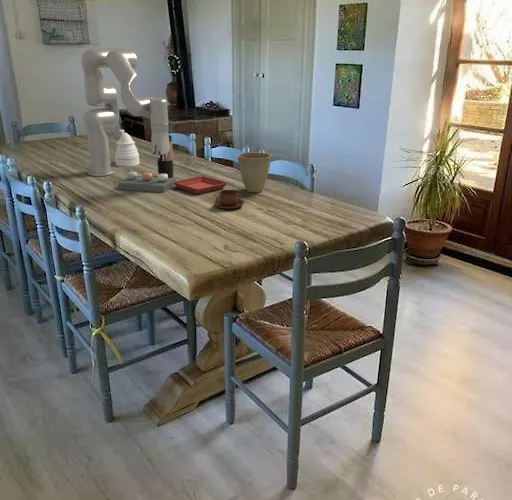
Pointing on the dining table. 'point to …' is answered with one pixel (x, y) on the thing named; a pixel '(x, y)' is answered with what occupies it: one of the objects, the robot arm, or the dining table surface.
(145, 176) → the terracotta button
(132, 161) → the honey pot
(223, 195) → the cup and saucer
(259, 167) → the plant pot
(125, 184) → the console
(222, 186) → the plant saucer
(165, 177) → the cream button
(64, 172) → the dining table surface
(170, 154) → the travel mug
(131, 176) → the sage button
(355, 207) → the dining table surface
